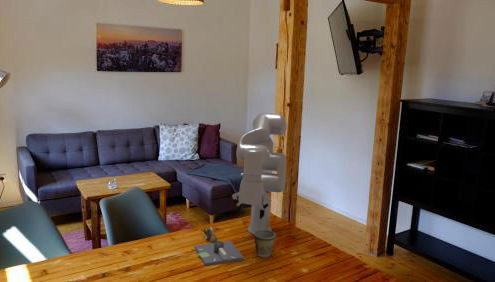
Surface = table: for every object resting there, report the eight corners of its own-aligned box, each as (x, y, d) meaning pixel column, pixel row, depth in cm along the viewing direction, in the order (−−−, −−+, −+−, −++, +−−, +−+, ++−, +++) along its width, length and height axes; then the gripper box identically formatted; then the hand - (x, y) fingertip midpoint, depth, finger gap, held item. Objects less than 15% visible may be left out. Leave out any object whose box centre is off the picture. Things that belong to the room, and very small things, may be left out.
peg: (212, 249, 189) (212, 241, 188) (221, 248, 190) (221, 240, 190) (220, 260, 178) (220, 252, 178) (229, 259, 180) (230, 251, 179)
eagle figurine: (196, 236, 203) (204, 239, 195) (202, 222, 205) (210, 226, 197) (208, 241, 207) (216, 245, 199) (214, 228, 208) (222, 232, 201)
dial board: (192, 248, 192) (192, 245, 192) (230, 243, 199) (230, 240, 199) (203, 266, 176) (203, 263, 176) (243, 259, 183) (244, 257, 183)
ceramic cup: (271, 260, 183) (272, 239, 182) (250, 256, 187) (251, 235, 185) (278, 248, 196) (279, 229, 194) (258, 245, 199) (259, 225, 197)
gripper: (230, 177, 171) (228, 215, 174) (269, 182, 165) (267, 222, 168) (236, 172, 178) (234, 210, 181) (274, 177, 172) (272, 216, 175)
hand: (250, 216), depth 175 cm, fingers open, 9 cm apart
